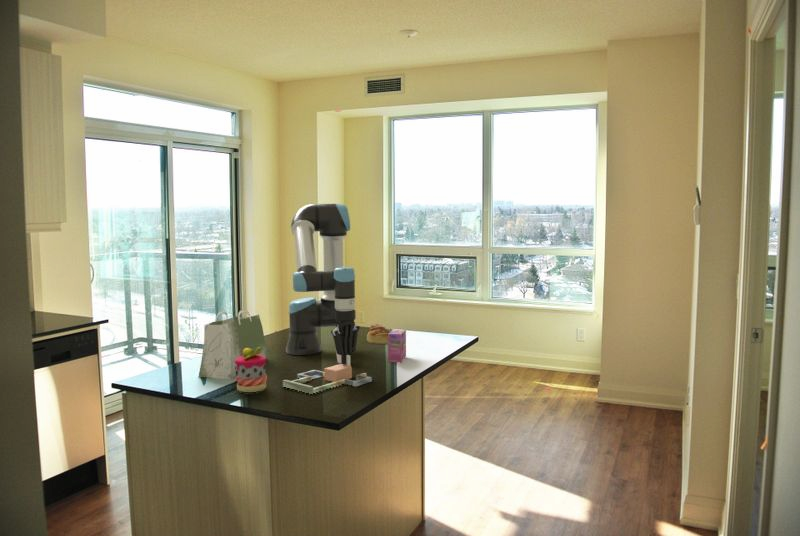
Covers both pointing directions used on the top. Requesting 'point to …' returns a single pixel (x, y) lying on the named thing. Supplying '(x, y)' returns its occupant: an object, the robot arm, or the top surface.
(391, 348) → the box
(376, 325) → the pastry
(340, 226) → the robot arm
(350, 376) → the block
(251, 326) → the grocery bag
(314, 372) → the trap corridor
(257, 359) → the cake
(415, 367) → the top surface
